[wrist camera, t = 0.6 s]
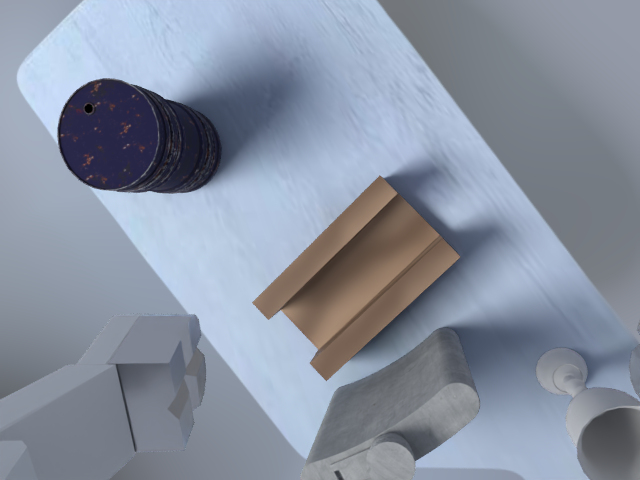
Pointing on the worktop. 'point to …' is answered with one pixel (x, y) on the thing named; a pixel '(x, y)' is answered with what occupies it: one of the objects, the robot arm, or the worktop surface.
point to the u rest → (358, 275)
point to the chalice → (595, 418)
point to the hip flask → (395, 414)
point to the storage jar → (136, 140)
